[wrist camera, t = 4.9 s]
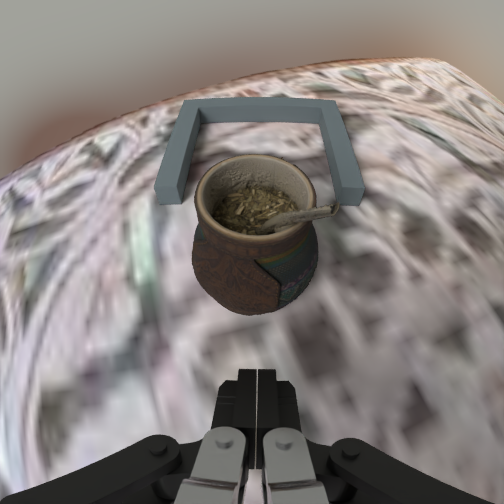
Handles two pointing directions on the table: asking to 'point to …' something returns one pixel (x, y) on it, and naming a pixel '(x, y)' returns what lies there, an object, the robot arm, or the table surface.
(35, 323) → the table surface
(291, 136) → the table surface
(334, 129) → the frame
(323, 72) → the table surface
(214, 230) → the mate gourd
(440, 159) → the table surface
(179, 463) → the robot arm
